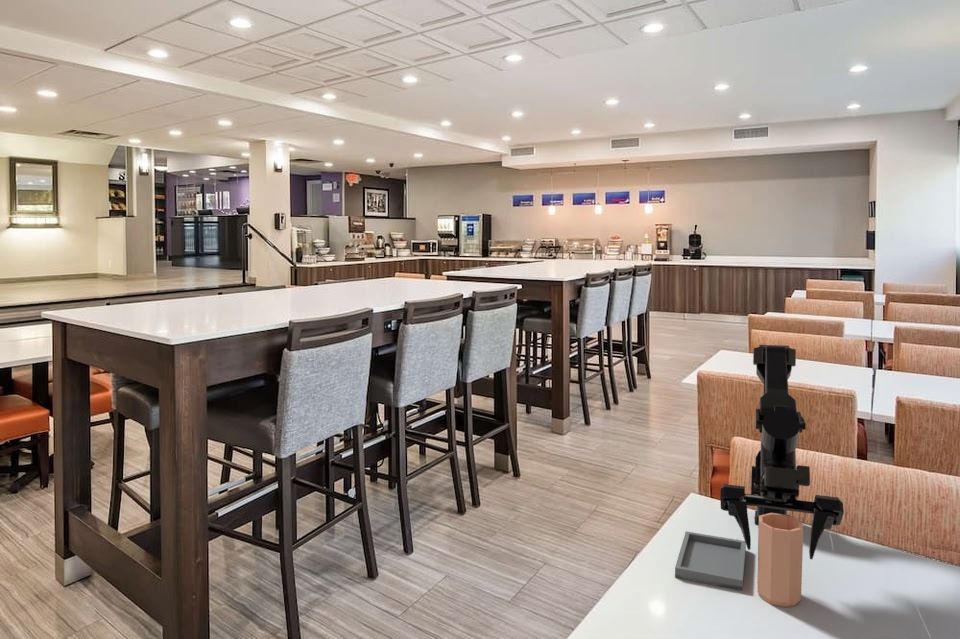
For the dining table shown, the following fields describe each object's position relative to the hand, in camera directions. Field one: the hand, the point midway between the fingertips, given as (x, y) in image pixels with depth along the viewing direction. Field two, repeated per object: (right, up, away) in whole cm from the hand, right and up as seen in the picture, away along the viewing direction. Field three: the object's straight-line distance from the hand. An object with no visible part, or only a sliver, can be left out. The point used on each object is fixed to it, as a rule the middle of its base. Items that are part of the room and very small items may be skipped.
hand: (779, 553), depth 100 cm
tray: (-7, -6, +12) cm, 15 cm away
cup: (0, -8, +1) cm, 8 cm away
